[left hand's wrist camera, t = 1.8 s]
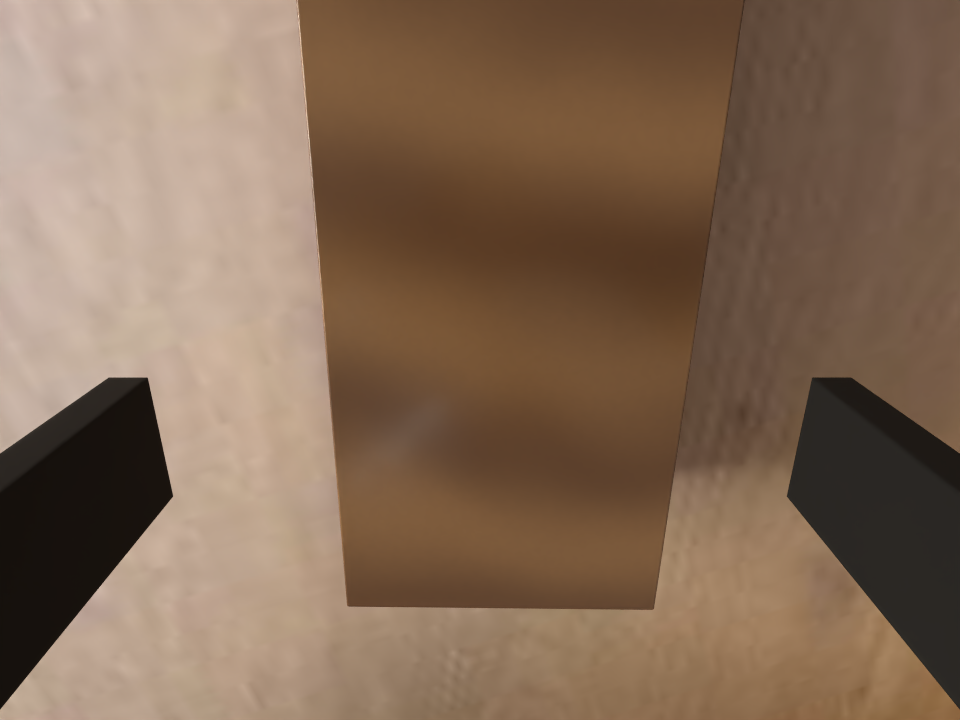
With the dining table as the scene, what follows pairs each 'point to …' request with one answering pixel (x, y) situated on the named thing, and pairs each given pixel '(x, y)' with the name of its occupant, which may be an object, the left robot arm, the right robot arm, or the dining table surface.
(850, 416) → the left robot arm
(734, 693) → the dining table surface
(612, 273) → the wooden beam
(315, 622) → the dining table surface
